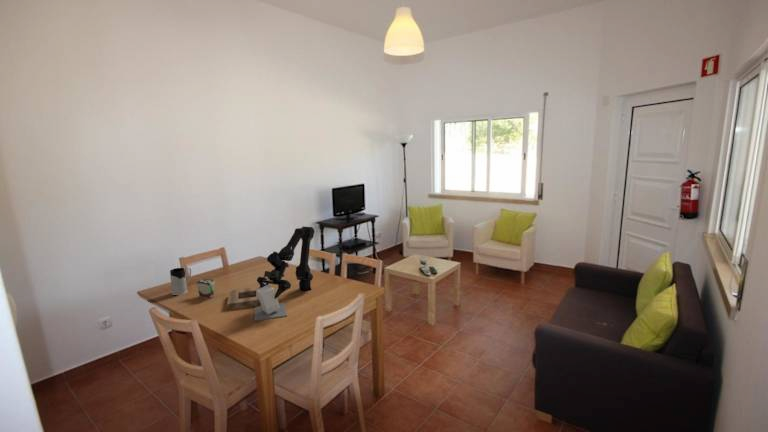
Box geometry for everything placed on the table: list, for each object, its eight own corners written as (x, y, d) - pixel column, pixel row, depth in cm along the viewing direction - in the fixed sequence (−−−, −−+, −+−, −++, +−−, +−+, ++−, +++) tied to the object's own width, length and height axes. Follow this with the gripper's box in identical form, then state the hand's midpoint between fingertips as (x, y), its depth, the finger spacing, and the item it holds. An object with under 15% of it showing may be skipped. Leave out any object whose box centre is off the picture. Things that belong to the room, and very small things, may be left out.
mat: (284, 304, 203) (284, 303, 203) (286, 316, 188) (286, 315, 188) (254, 308, 198) (254, 307, 197) (254, 321, 183) (254, 320, 183)
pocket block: (265, 291, 221) (264, 286, 220) (266, 304, 202) (265, 298, 202) (230, 296, 214) (229, 290, 214) (227, 310, 196) (227, 304, 195)
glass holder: (168, 295, 217) (165, 271, 214) (186, 286, 230) (184, 264, 227) (180, 296, 214) (177, 272, 211) (198, 287, 228) (195, 265, 225)
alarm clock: (220, 295, 215) (219, 279, 213) (212, 299, 210) (210, 283, 208) (206, 292, 220) (204, 276, 219) (197, 296, 215) (195, 280, 213)
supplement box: (280, 308, 192) (274, 288, 188) (268, 315, 188) (261, 295, 183) (274, 303, 198) (268, 283, 193) (262, 310, 193) (255, 290, 189)
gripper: (257, 262, 195) (245, 289, 187) (286, 266, 188) (275, 293, 180) (267, 271, 203) (256, 297, 195) (295, 275, 197) (285, 302, 189)
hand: (267, 297), depth 190 cm, fingers closed on supplement box, 9 cm apart
